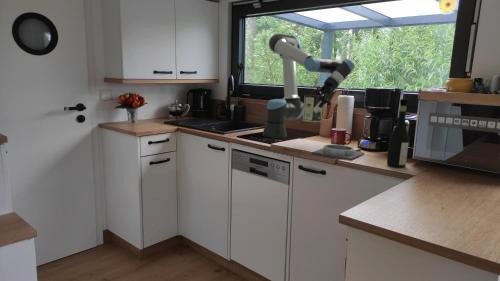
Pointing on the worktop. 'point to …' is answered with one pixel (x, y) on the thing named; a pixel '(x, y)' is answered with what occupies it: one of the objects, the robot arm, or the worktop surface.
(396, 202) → the worktop surface
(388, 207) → the worktop surface
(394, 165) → the wine bottle
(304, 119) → the coffee can
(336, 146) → the dark grey flat piece
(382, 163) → the worktop surface
